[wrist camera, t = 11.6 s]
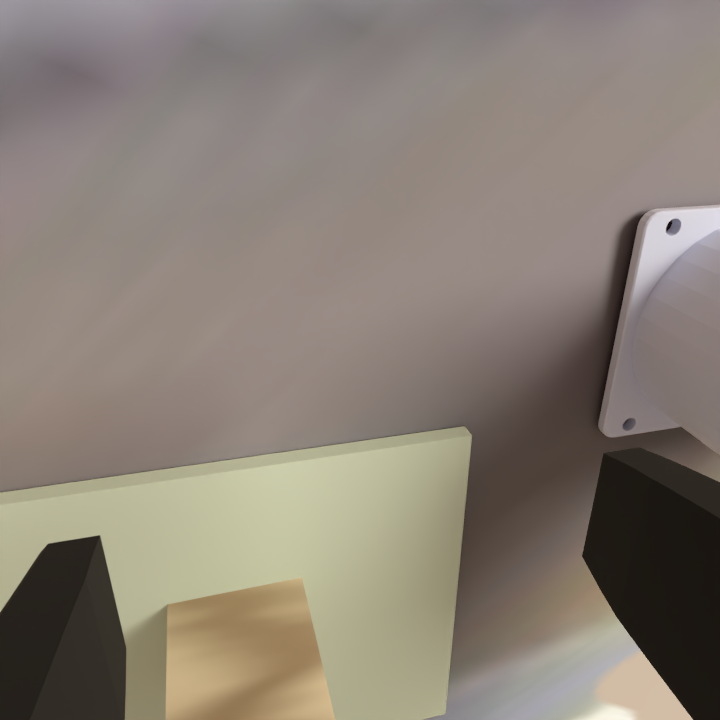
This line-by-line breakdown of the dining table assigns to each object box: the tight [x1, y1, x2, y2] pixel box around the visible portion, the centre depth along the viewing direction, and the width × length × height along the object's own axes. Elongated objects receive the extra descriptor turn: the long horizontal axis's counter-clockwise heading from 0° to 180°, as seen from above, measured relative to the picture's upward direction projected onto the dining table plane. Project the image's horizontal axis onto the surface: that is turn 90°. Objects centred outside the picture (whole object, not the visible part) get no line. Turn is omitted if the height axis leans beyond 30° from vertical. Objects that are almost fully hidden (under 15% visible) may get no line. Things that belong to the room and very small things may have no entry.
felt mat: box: [0, 426, 472, 720], centre depth 22 cm, size 16×14×1 cm
